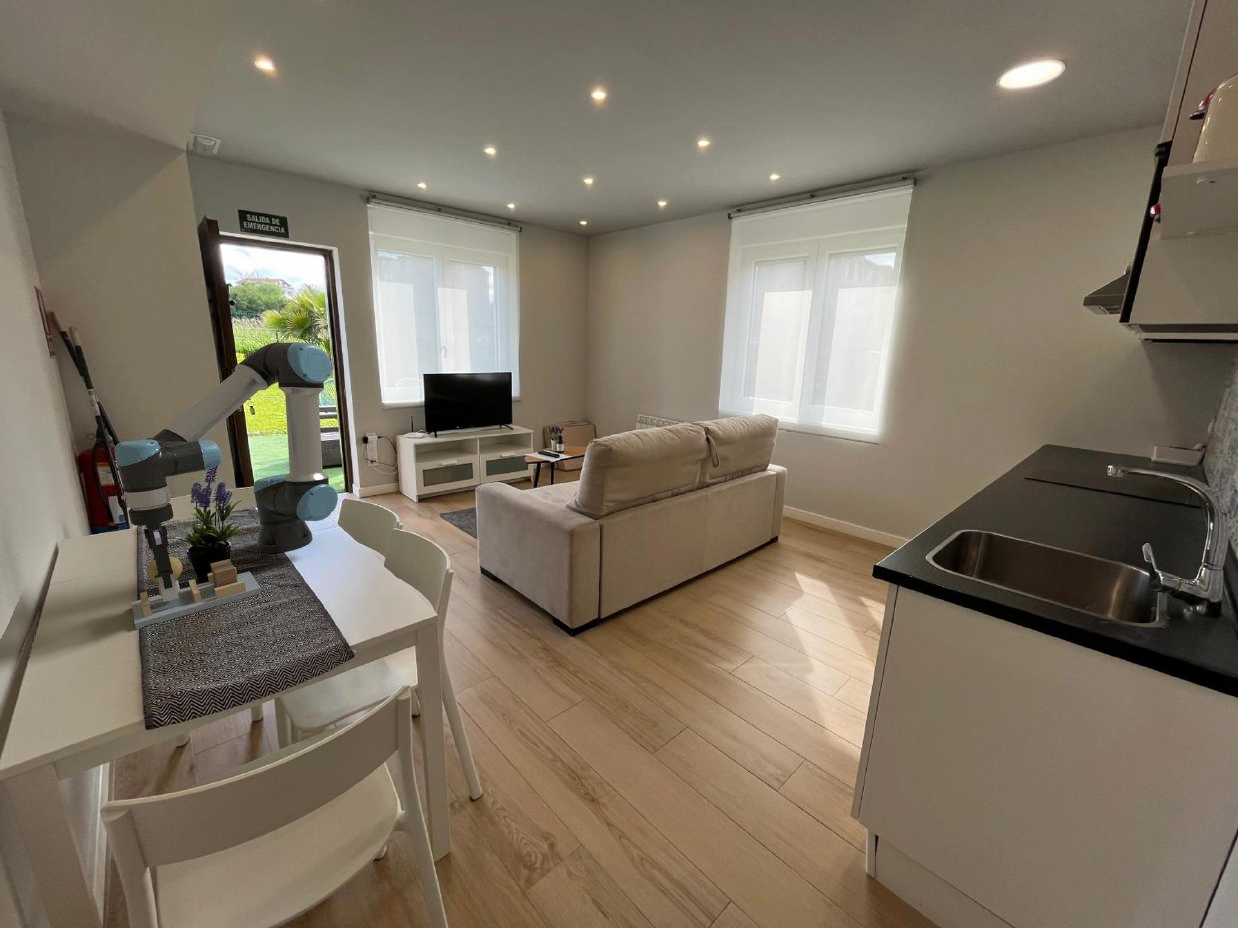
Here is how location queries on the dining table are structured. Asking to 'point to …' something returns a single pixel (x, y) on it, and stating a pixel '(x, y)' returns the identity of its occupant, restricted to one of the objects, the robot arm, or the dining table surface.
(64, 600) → the dining table surface
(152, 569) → the light bulb
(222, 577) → the tan wooden stepped block
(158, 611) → the jig
